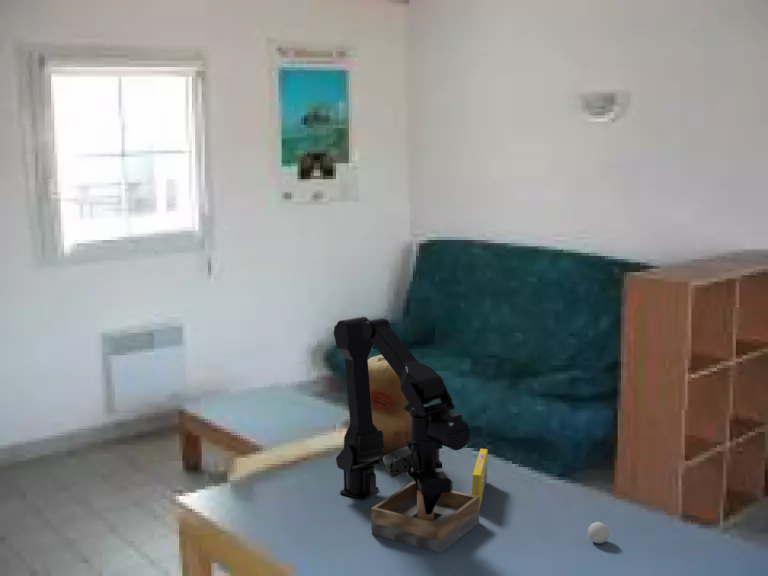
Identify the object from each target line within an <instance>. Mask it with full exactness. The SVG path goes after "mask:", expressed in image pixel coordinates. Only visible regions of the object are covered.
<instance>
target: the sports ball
mask: <svg viewBox="0 0 768 576" xmlns="http://www.w3.org/2000/svg"><path fill="white" fill-rule="evenodd" d="M587 535H588V537H589V539H590V540H591V541H592V542H593V543H595V544H603V543H605V542H606V541H607V540H608V538H609V537H610V529H609V527H608V526H607V525H606V524H605V523H603V522H601V521H599V522H598V521H596V522H595V521H594V522H593V523H591V524H590V525H589V527H588V531H587Z"/></svg>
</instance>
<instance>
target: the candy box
mask: <svg viewBox="0 0 768 576" xmlns="http://www.w3.org/2000/svg"><path fill="white" fill-rule="evenodd" d="M488 452H489V449H487V448H480V449H479V452H478V456H477V458H476V463H475V466H474V470H473V473H472V484H471V485H472V488H471V495H473V496H477V497H479V511H480V509H481V505H482V502H483V496H484V494H485V488H486V484H487V481H488V460H489V458H488V457H489V456H488V455H489V453H488Z"/></svg>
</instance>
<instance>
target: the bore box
mask: <svg viewBox="0 0 768 576" xmlns="http://www.w3.org/2000/svg"><path fill="white" fill-rule="evenodd" d="M370 516H371V517H370V524H371V535H374V536H377V537H381V538H385V539H389V540H392V541H396V542H399V543H402V544H403V543H404V544H407V545H410V546H413V547H418V548H420V549H421V548H422V549H424V550H428V551H432V552H436V553H439V554H442V553H443V552H445V550H447V549H448V548H450V546H452V545H453V544H454V543H455V542H457V541H458V540H459V539H460V538H462V537H463V536H464V535H465V534H466V533H468V532H469V531H471V529H473V528H474V527H475V526H476V525H478V524H479V523H480V510H479V497H477V496H473V495H472V494H468V493H464V492H459V491H455V490H452V491H451V492H446V493H442V494H441V496H440V497H439V499H438V501H437V503H436V505H435V507H434V522H430V521H426V520H422V519H419V518H417V490H416V486H415V482H414V481H411V482H410V483H408V484H406V485H405V486H404V487H402V488H400V489H399V490H397V491H395V492H394V493H393V494H390V495H389V496H388V497H386V498H385V499H383V500H381V501H380V502H378V503H377V504H376V505H374V506H372V507H370Z"/></svg>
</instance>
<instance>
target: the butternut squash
mask: <svg viewBox="0 0 768 576" xmlns="http://www.w3.org/2000/svg"><path fill="white" fill-rule="evenodd" d="M368 370H369V382H370V395H371V407H372V420H373V424H374V425H375V426H376V428H377V429H378V430H381V431H382V433H383V443H384V447H385V448H384V449H383V455H382V457H383V456H385V455H387V454H389V453H391V452H393V451H396V450H398V449H401V448H404V447H407V440H409V438H411V413H410V412H408V411H405V410H404V407H405V406H406V405H408V403H409V402H408V401H407V399H406V397H405V396H404V394H403V392H402V390H401V389H400V378H399V377H398V375H397V374H396V372H395V371H394V370H393V369H392V367H391V366H390V365H389V363H388V362H387V361H386V360H385V358H384V357H383V356H382V354H379V355H375V356H373V357H370V358H369V359H368Z"/></svg>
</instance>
